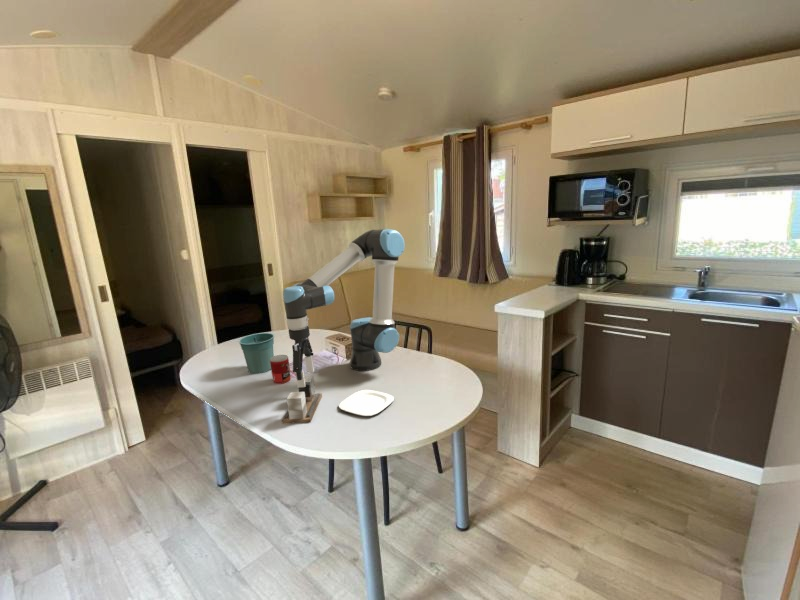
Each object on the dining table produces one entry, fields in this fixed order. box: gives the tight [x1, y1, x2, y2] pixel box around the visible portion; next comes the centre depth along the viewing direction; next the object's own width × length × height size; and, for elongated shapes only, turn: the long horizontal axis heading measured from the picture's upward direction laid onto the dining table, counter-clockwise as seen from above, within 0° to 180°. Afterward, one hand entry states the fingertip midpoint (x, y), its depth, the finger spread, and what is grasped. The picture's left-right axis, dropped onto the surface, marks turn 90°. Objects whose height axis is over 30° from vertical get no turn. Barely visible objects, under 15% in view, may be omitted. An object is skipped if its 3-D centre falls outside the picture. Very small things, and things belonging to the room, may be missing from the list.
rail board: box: [281, 391, 323, 425], centre depth 142 cm, size 10×20×9 cm, turn 0°
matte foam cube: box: [296, 376, 316, 401], centre depth 148 cm, size 6×5×8 cm
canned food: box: [270, 354, 292, 385], centre depth 170 cm, size 8×8×11 cm
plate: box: [338, 389, 395, 417], centre depth 144 cm, size 18×18×2 cm
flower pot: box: [238, 332, 275, 375], centre depth 184 cm, size 16×16×16 cm
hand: (306, 379), depth 147 cm, fingers open, 13 cm apart
